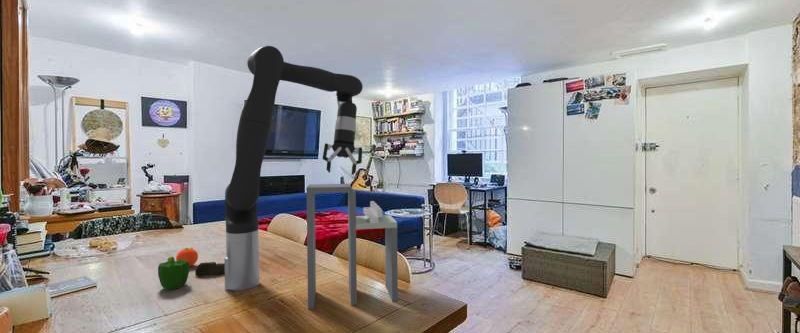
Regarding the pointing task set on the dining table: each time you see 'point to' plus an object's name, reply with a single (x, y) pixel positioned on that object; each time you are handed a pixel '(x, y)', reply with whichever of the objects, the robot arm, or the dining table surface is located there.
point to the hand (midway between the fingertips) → (340, 173)
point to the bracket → (373, 213)
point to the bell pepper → (173, 273)
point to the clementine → (188, 255)
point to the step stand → (351, 242)
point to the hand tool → (209, 269)
